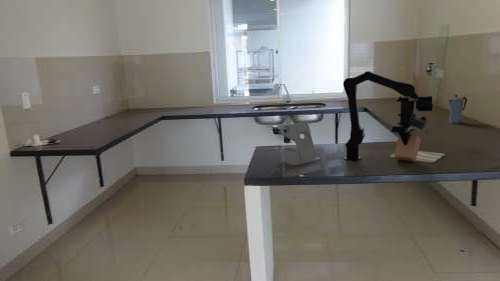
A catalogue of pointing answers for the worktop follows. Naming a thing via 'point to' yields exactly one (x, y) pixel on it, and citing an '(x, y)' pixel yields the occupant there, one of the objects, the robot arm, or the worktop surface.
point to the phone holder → (299, 144)
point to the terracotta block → (408, 149)
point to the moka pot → (456, 109)
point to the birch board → (426, 156)
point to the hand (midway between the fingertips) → (405, 144)
